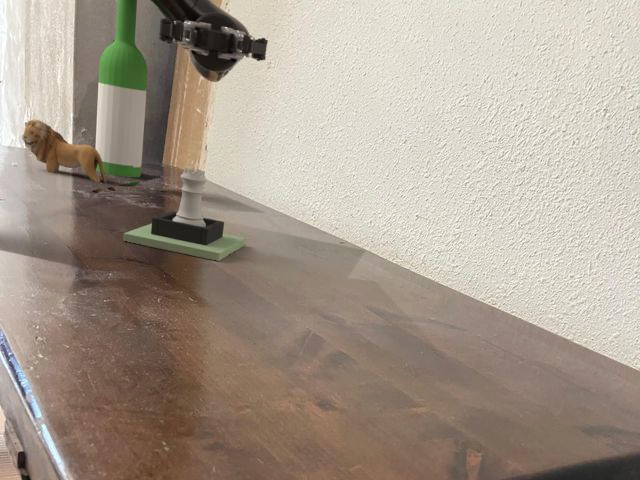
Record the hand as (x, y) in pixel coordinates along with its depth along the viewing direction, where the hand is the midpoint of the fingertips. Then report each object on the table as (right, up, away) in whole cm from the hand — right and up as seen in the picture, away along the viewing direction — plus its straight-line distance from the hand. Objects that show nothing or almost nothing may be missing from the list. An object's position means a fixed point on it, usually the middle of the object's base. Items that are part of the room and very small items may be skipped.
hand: (212, 37), depth 95 cm
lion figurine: (-27, -12, +23) cm, 37 cm away
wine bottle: (-22, -7, +35) cm, 42 cm away
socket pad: (-3, -26, 0) cm, 27 cm away
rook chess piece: (-3, -26, 0) cm, 26 cm away
